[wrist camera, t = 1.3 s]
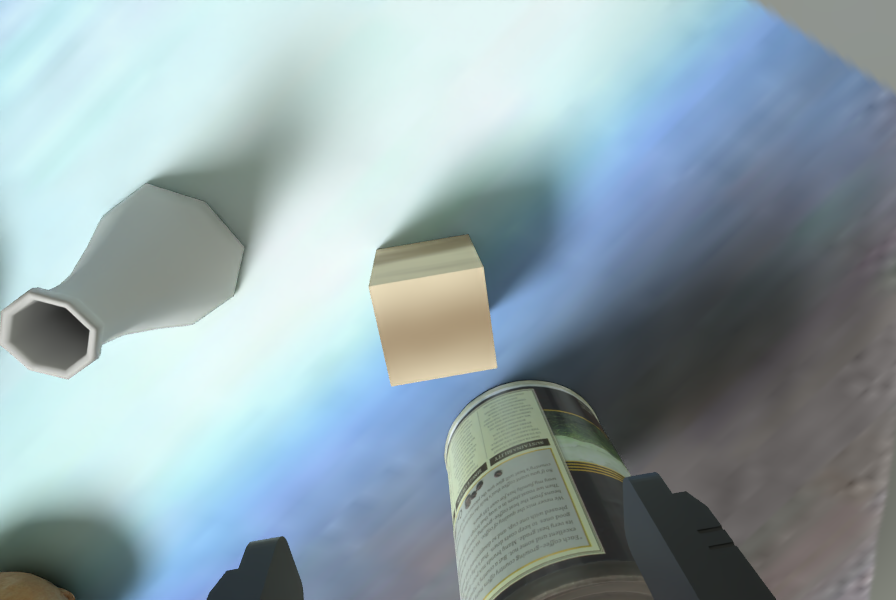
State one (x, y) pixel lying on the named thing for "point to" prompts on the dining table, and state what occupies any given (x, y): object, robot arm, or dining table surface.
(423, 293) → the maple block
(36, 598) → the onion
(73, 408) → the dining table surface
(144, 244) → the flask
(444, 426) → the dining table surface
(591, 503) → the coffee can
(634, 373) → the dining table surface
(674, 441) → the dining table surface
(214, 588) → the robot arm
